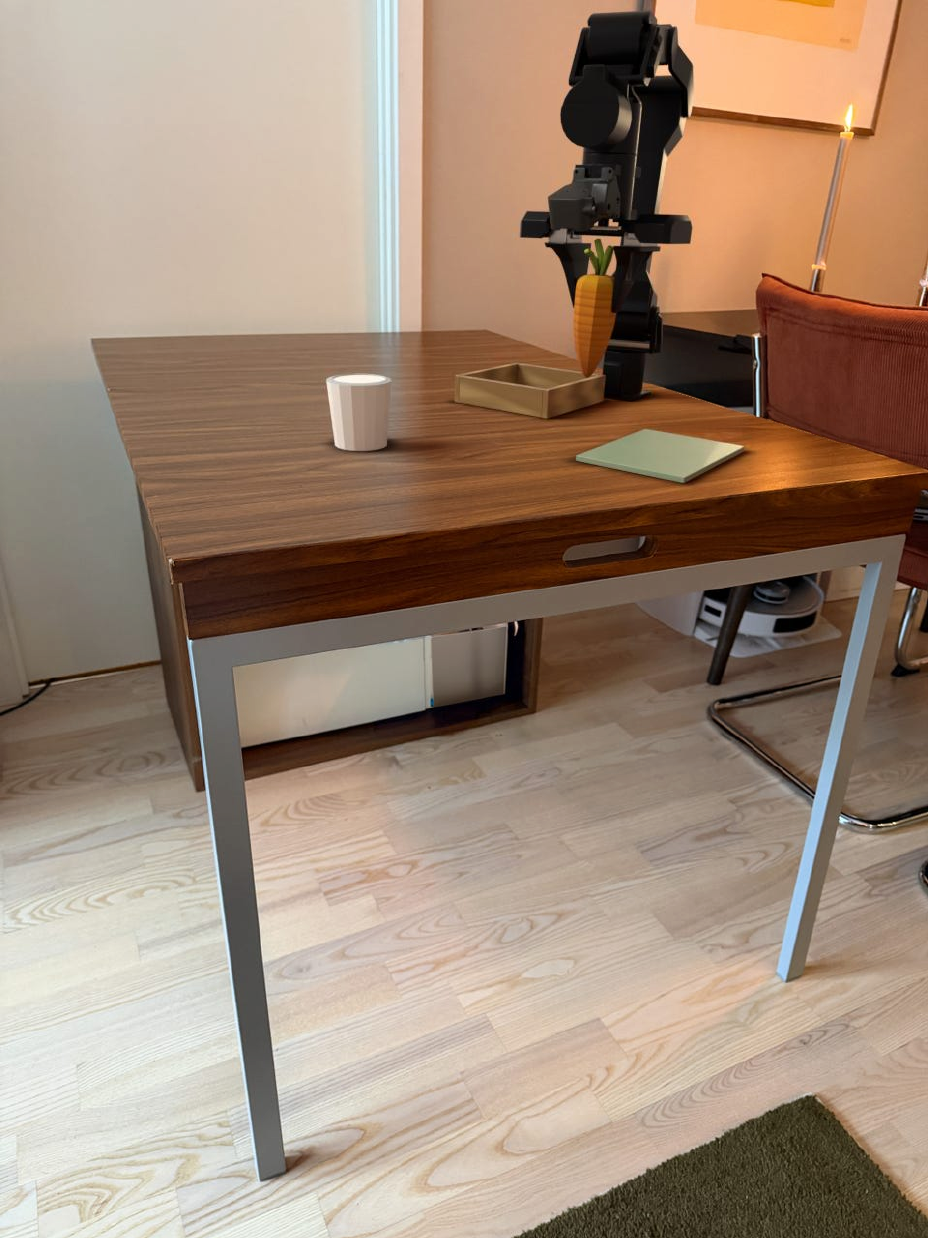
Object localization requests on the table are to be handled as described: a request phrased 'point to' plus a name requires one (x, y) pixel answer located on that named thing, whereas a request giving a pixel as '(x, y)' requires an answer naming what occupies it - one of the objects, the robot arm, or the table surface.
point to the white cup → (359, 410)
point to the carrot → (594, 311)
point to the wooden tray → (529, 389)
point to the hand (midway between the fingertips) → (595, 310)
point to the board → (661, 455)
